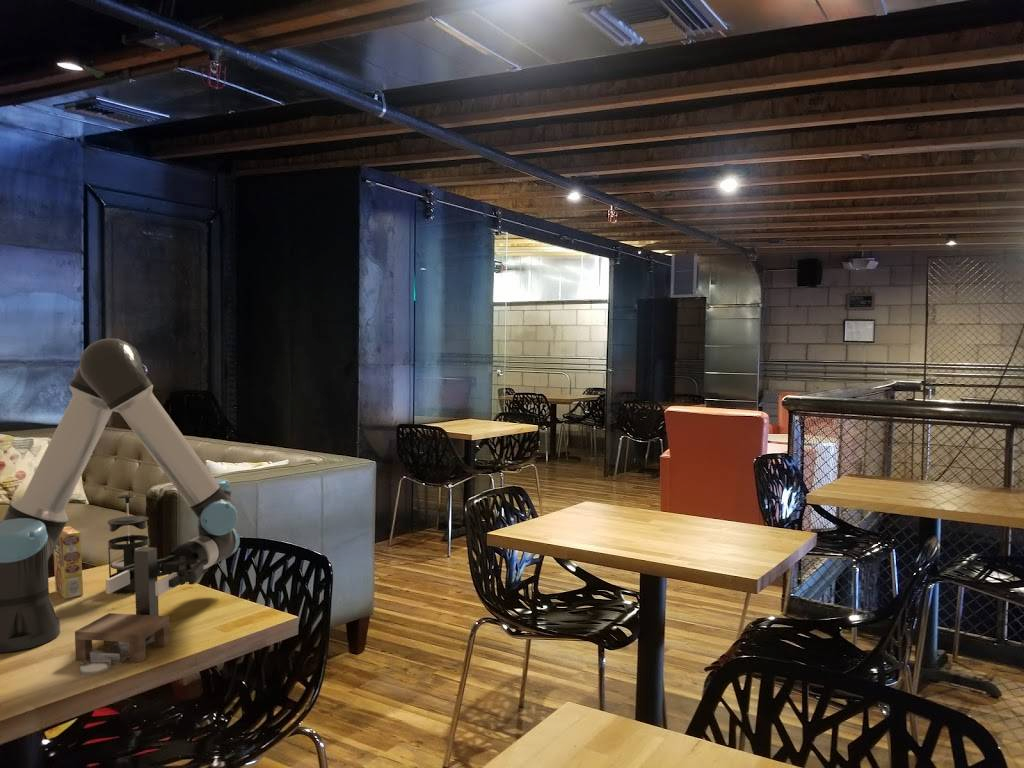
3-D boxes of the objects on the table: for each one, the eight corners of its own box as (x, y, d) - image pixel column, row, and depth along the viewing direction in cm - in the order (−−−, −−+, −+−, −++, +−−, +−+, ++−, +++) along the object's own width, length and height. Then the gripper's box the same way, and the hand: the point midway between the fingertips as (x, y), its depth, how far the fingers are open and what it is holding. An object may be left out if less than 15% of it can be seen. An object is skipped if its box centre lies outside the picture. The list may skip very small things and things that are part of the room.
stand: (75, 660, 148) (74, 631, 148) (110, 640, 158) (109, 613, 158) (139, 663, 146) (138, 634, 146) (169, 643, 156) (169, 616, 156)
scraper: (90, 662, 147) (86, 567, 146) (138, 633, 162) (136, 546, 161) (119, 664, 146) (116, 569, 145) (166, 634, 161) (163, 547, 160)
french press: (150, 592, 188) (147, 497, 187) (106, 597, 185) (103, 500, 184) (152, 578, 199) (149, 488, 198) (111, 582, 196) (108, 491, 194)
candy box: (84, 595, 186) (81, 531, 185) (64, 599, 183) (61, 534, 182) (73, 587, 192) (70, 525, 192) (53, 591, 189) (51, 528, 189)
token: (78, 678, 141) (78, 670, 141) (81, 667, 145) (81, 659, 145) (110, 673, 143) (109, 665, 143) (112, 663, 147) (111, 655, 147)
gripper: (240, 575, 175) (186, 609, 153) (147, 571, 179) (80, 604, 156) (239, 542, 175) (184, 571, 153) (146, 539, 178) (79, 567, 156)
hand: (132, 587), depth 155 cm, fingers open, 10 cm apart
